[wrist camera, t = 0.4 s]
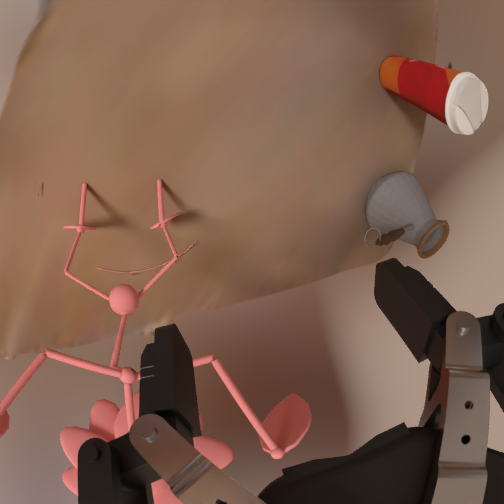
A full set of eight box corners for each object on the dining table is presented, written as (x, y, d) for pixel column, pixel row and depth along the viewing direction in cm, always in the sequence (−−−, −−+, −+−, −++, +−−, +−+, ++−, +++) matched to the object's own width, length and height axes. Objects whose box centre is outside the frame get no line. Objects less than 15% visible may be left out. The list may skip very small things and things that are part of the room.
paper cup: (419, 79, 34) (494, 114, 24) (388, 109, 37) (462, 151, 27) (397, 38, 29) (482, 62, 19) (363, 68, 32) (446, 99, 22)
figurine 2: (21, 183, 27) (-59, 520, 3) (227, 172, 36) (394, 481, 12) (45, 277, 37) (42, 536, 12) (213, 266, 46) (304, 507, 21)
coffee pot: (418, 173, 47) (479, 223, 36) (389, 225, 53) (440, 280, 42) (327, 138, 37) (402, 196, 27) (296, 210, 44) (350, 283, 33)
